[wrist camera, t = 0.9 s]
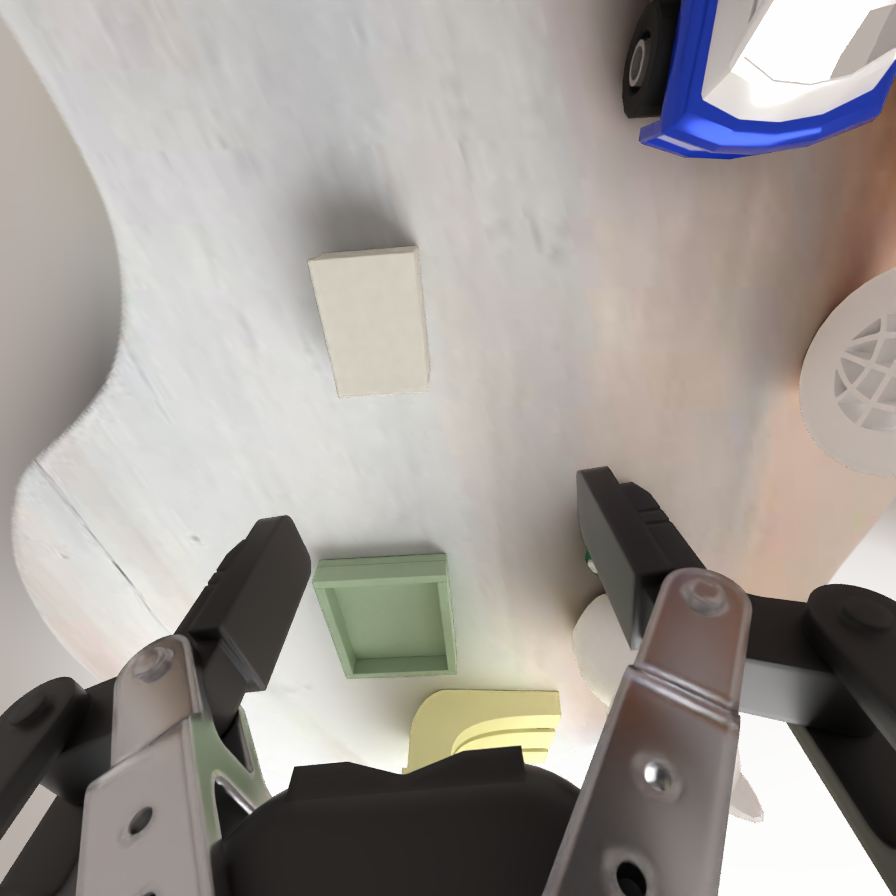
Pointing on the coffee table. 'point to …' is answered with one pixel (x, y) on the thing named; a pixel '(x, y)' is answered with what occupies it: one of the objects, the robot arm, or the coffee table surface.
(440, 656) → the shallow green tray
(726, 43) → the toy car
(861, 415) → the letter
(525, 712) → the slatted curved stool
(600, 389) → the coffee table surface
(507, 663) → the coffee table surface
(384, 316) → the beige rectangular block
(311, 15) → the coffee table surface
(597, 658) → the cat figurine
